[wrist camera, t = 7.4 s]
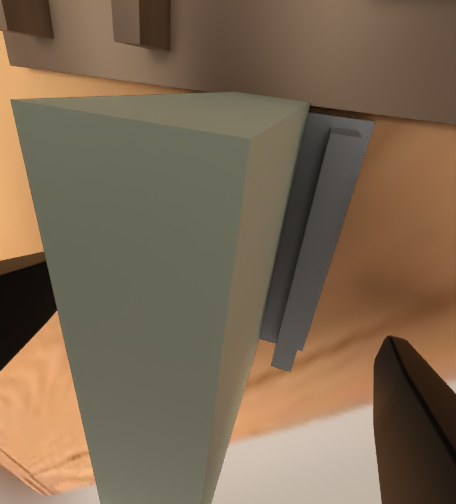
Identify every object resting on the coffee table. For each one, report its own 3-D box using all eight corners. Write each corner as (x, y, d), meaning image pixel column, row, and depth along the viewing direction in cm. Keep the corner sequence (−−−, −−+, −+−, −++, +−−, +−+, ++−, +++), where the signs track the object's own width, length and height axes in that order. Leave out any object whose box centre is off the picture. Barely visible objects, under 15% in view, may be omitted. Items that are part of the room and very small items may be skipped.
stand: (372, 119, 10) (383, 127, 8) (303, 338, 14) (298, 379, 12) (184, 93, 11) (151, 95, 9) (178, 303, 16) (155, 334, 14)
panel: (310, 101, 9) (251, 138, 2) (259, 340, 14) (192, 568, 7) (234, 91, 10) (10, 99, 3) (210, 325, 15) (106, 528, 8)
